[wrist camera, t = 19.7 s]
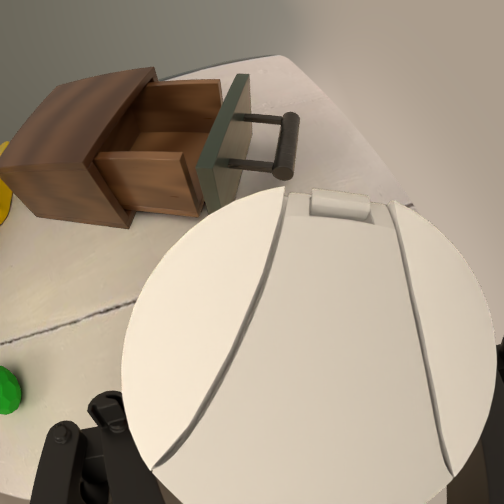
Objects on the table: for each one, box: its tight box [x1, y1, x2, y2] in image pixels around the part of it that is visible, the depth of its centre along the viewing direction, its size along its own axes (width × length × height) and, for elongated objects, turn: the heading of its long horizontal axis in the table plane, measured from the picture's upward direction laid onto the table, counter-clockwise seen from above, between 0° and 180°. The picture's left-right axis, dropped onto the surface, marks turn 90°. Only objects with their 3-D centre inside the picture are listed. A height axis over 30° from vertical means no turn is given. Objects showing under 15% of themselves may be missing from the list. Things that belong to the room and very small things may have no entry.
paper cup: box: [121, 186, 497, 504], centre depth 10 cm, size 8×8×14 cm
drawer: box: [92, 74, 300, 217], centre depth 24 cm, size 19×13×8 cm
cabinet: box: [0, 67, 158, 229], centre depth 26 cm, size 15×14×10 cm
